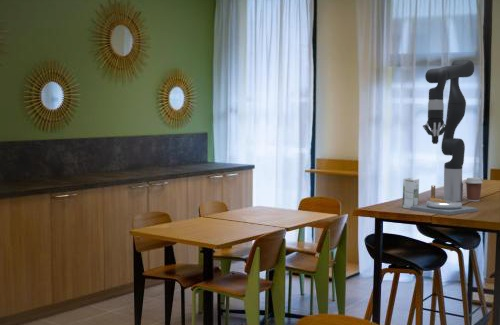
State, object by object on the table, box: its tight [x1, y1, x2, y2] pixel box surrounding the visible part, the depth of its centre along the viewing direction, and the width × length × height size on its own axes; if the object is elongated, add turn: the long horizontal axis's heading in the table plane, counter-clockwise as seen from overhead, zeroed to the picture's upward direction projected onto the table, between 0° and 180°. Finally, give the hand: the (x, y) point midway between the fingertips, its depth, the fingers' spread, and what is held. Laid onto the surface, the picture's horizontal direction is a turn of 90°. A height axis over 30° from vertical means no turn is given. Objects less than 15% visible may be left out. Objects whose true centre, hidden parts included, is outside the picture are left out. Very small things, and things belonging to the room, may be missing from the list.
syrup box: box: [402, 177, 420, 209], centre depth 322 cm, size 6×6×14 cm
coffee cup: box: [464, 177, 484, 202], centre depth 353 cm, size 9×9×12 cm
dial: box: [426, 184, 463, 209], centre depth 315 cm, size 20×16×9 cm
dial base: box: [410, 204, 479, 216], centre depth 314 cm, size 22×22×2 cm
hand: (434, 143), depth 331 cm, fingers closed
